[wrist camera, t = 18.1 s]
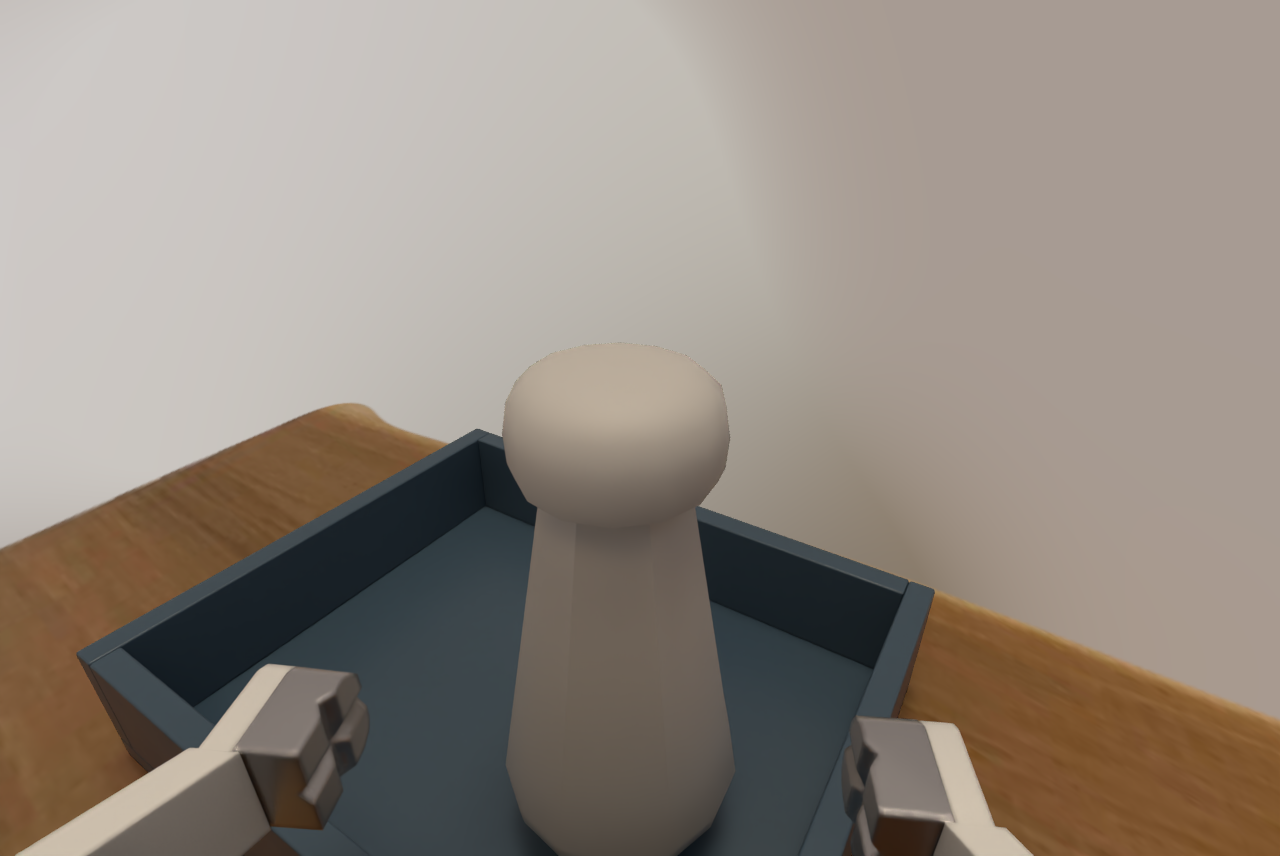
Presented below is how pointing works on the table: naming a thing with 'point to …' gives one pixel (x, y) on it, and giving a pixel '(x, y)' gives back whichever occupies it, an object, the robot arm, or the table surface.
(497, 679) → the tray
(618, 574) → the salt shaker
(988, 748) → the table surface
